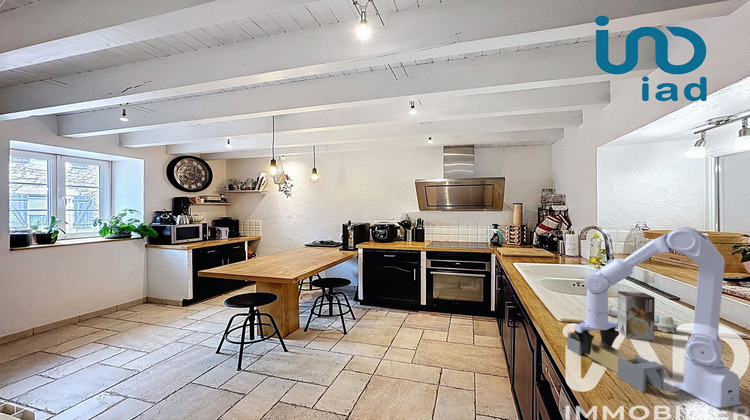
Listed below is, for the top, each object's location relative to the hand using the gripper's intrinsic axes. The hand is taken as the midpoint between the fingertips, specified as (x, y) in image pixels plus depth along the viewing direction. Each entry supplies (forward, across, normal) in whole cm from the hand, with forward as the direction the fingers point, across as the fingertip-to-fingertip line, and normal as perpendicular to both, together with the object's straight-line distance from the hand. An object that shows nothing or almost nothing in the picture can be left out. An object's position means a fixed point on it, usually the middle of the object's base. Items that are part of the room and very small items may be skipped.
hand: (596, 351), depth 100 cm
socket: (+2, 0, -5) cm, 6 cm away
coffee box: (+2, -30, -11) cm, 32 cm away
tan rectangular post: (+2, 0, +2) cm, 3 cm away
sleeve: (+2, 0, +14) cm, 14 cm away
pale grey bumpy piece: (+3, -43, -22) cm, 48 cm away
